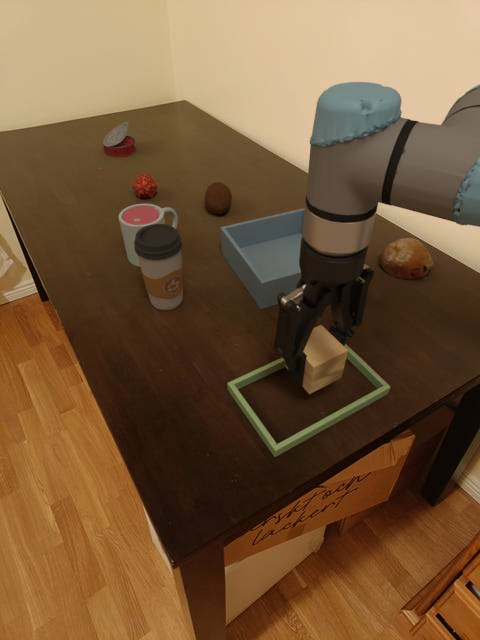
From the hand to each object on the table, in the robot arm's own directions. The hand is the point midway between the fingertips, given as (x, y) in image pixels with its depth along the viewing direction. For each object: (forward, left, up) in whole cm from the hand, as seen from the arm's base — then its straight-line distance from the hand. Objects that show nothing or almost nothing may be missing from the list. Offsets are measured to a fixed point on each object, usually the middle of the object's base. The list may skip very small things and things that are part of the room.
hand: (313, 370), depth 64 cm
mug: (+46, -17, -6) cm, 50 cm away
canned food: (+92, -53, -6) cm, 107 cm away
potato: (+45, -40, -6) cm, 61 cm away
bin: (+19, -27, -5) cm, 34 cm away
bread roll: (-3, -41, -6) cm, 41 cm away
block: (0, 0, 0) cm, 0 cm away
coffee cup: (+33, -5, -6) cm, 34 cm away
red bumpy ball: (+65, -35, -6) cm, 74 cm away
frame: (0, 0, -5) cm, 5 cm away
